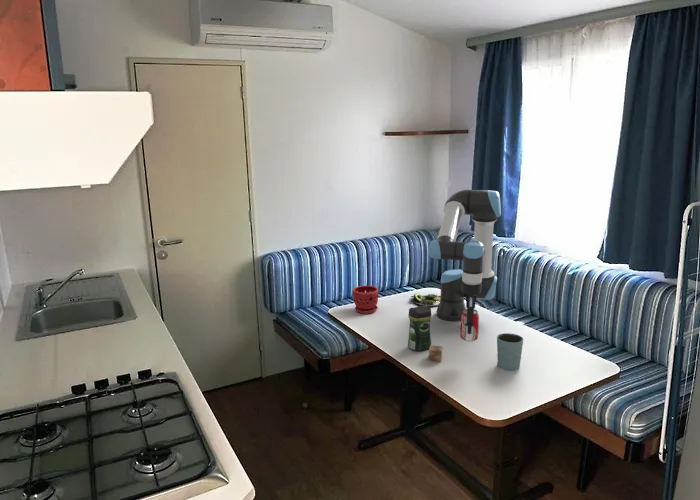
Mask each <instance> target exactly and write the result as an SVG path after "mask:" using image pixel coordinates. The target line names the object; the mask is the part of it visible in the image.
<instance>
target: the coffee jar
mask: <svg viewBox="0 0 700 500" xmlns="http://www.w3.org/2000/svg"><path fill="white" fill-rule="evenodd" d="M407 317H408V318H409V328H408V329H409V332H408V340H407V346H408V348H409V349H410V350H412V351H414V352H415V351H416V352H420V351H421V352H422V351H425V350H429V348H430V345H432V340H431V338H432V337H431V319H432V309H431V307H428V306H426V305H424V306H414V307H410V308H409V309H408V315H407Z"/></svg>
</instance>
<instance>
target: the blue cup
mask: <svg viewBox="0 0 700 500" xmlns="http://www.w3.org/2000/svg"><path fill="white" fill-rule="evenodd" d="M496 344H497V346H496V349H497V350H496V351H497V355H496V356H497V367H498V368H499V369H501V370H504V371H509V372H511V371H512V372H513V371H517V370H519V369H520V368H521V367H520V366H521V360H522V353H523V352H522V351H523V345H524V338H523V336H521V335H519V334H516V333H511V332H506V333H503V332H502V333H500V334H498V335H497V336H496Z"/></svg>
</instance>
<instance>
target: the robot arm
mask: <svg viewBox="0 0 700 500" xmlns="http://www.w3.org/2000/svg"><path fill="white" fill-rule="evenodd" d="M501 206H502V204H501V196H500V193H499V191H497V190H489V189H462V190H460V191H457V192H454V193H453V194H452V195H451V196H450V197H449V198H448V199H447V200H446V201H445V204H444V206H443V218H442V222H441V225H440V228H439V232H438V236H437V239H434V240H433V239H432V240H431V241H430V243H429V250H428V252H429V257H430V258H431V259H438V260H450V261H452V260H453V261H462V269H448V270H445V271H444V272H443V273H442V274H441V277H440V296H441V297H440V303H439V302H438V304H439V305H438V306H437V309H436V313H435V315H436V317H437V318H439V320H440V319H441V320H442V321H443V320H444V321H448V322H456V321H457V322H461V314H462V313H463V310H464V309H467V323H466V324H465V326H466V339H465V342H467V341H472V340H473V315H474V309H476V302H477V300H484V301H485V300H487V301H488V300H493V299H494V296H495V293H496V292H495V291H496V287H497V283H498V282H497V281H498V277H497V276H496V275H495V272H494V270H493V269H492V263H493V261H492V260H493V245H494V226H495V225H494V224H495V222H497V221H498V218H500V217H501V215H502V209H501V208H502V207H501ZM465 215H466V216H471V220H472V222H474V231H473V232H474V233H473V235H474V236H473V238H474V240H473V241H471V242H465V241H464V242H463V241H457V236H458V232H459V228H460V224H461V219H462V217H463V216H465ZM465 302H466V303H465Z"/></svg>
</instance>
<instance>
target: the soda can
mask: <svg viewBox="0 0 700 500" xmlns="http://www.w3.org/2000/svg"><path fill="white" fill-rule="evenodd" d="M478 312H479V311H478V310H477V309H476V308H474V315H473V340H472V341H465V339H466V326H465V324H466V323H467V308H466V309H464V310H463V313H462V314H461V320H460V328H459V329H460V334H459V336H460V338H461V340H463V341H465V342H468V343H473V342H475V341H477V340H478V337H479V327H480V326H479V325H480V316H479V313H478Z"/></svg>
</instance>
